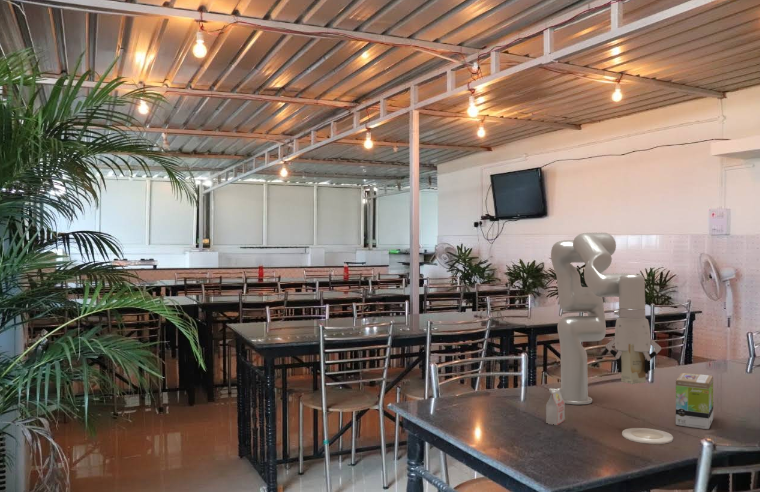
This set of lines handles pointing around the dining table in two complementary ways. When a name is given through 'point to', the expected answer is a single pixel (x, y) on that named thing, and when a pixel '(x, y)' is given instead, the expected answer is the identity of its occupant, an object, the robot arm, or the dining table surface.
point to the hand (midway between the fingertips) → (633, 371)
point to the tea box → (694, 400)
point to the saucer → (647, 436)
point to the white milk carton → (555, 409)
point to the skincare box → (632, 366)
